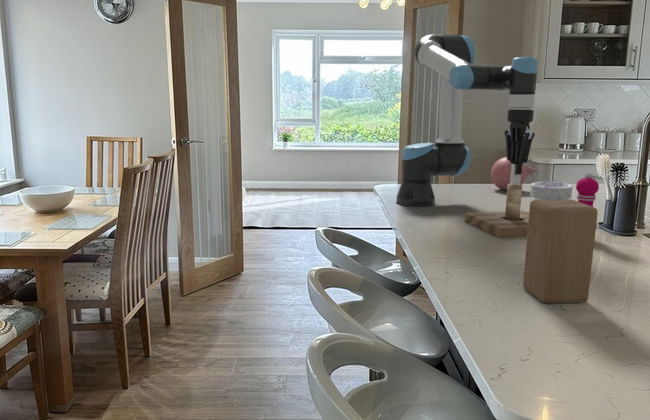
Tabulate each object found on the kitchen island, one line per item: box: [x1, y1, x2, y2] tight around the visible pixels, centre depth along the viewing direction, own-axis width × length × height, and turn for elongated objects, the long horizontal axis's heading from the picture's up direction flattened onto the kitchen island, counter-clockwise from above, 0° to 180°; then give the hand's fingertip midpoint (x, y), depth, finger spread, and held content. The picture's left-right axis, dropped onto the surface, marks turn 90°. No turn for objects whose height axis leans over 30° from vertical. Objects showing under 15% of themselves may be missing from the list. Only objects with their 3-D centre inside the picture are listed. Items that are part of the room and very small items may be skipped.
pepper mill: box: [575, 172, 600, 229], centre depth 158 cm, size 7×7×20 cm
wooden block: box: [522, 198, 599, 304], centre depth 112 cm, size 10×10×20 cm
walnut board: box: [464, 209, 529, 239], centre depth 174 cm, size 22×22×3 cm
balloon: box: [490, 156, 538, 192], centre depth 243 cm, size 15×20×15 cm
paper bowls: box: [529, 181, 573, 200], centre depth 214 cm, size 15×15×8 cm
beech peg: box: [505, 184, 523, 221], centre depth 173 cm, size 4×4×14 cm
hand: (515, 184), depth 172 cm, fingers closed
